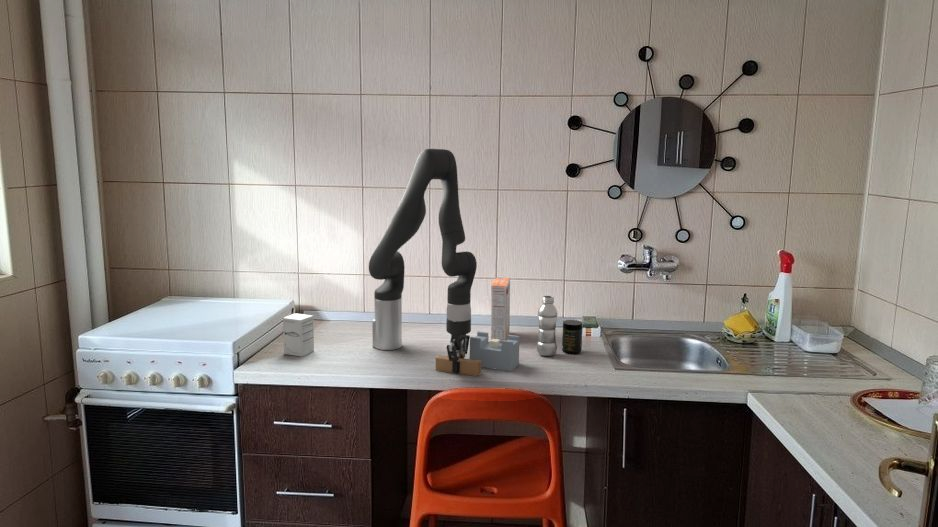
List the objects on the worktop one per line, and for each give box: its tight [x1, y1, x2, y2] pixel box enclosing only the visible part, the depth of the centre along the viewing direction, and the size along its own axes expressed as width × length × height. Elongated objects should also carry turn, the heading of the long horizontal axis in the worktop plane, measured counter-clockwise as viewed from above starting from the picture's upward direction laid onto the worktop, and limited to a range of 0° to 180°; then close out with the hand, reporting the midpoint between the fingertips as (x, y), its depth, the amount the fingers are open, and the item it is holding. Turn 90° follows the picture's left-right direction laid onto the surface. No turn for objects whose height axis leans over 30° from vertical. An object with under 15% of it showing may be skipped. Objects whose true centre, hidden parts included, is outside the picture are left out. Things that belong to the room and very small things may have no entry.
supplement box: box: [282, 313, 315, 358], centre depth 228 cm, size 7×7×13 cm
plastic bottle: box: [536, 295, 558, 357], centre depth 228 cm, size 6×7×20 cm
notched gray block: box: [468, 330, 520, 372], centre depth 219 cm, size 14×8×9 cm, turn 69°
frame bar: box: [435, 354, 482, 377], centre depth 212 cm, size 14×3×4 cm, turn 69°
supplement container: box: [561, 319, 584, 356], centre depth 233 cm, size 7×7×10 cm
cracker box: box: [490, 277, 511, 343], centre depth 248 cm, size 14×6×21 cm, turn 172°
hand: (458, 370), depth 212 cm, fingers closed on frame bar, 3 cm apart
